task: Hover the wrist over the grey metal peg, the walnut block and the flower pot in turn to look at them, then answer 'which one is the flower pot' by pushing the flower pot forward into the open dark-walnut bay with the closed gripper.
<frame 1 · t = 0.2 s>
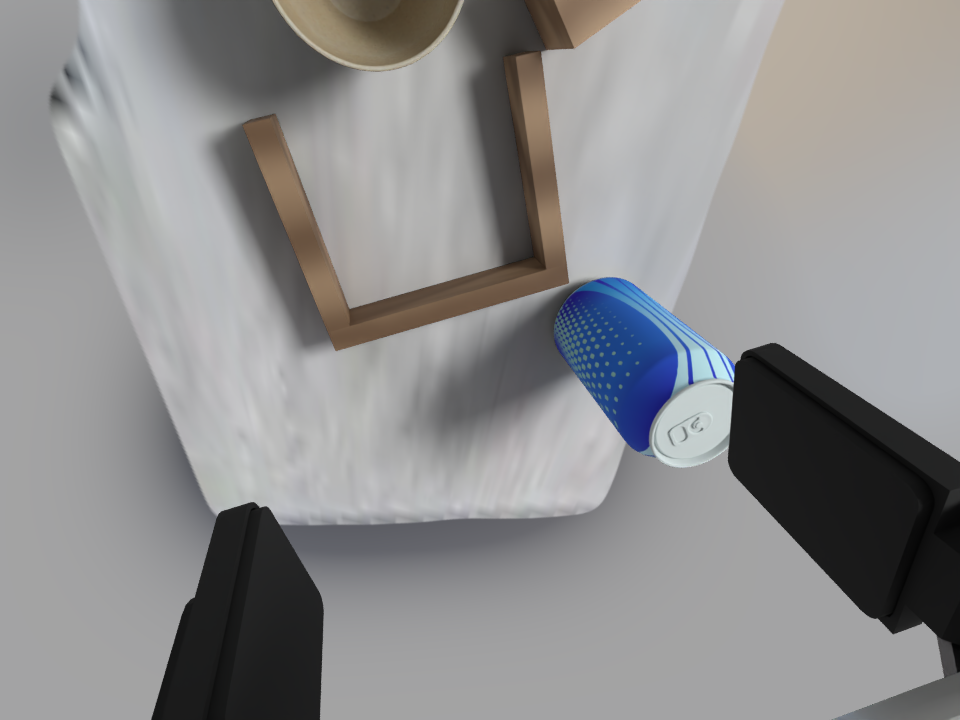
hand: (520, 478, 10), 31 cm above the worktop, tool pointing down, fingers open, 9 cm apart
beer can: (593, 316, 46), on the worktop
bay: (419, 193, 37), on the worktop
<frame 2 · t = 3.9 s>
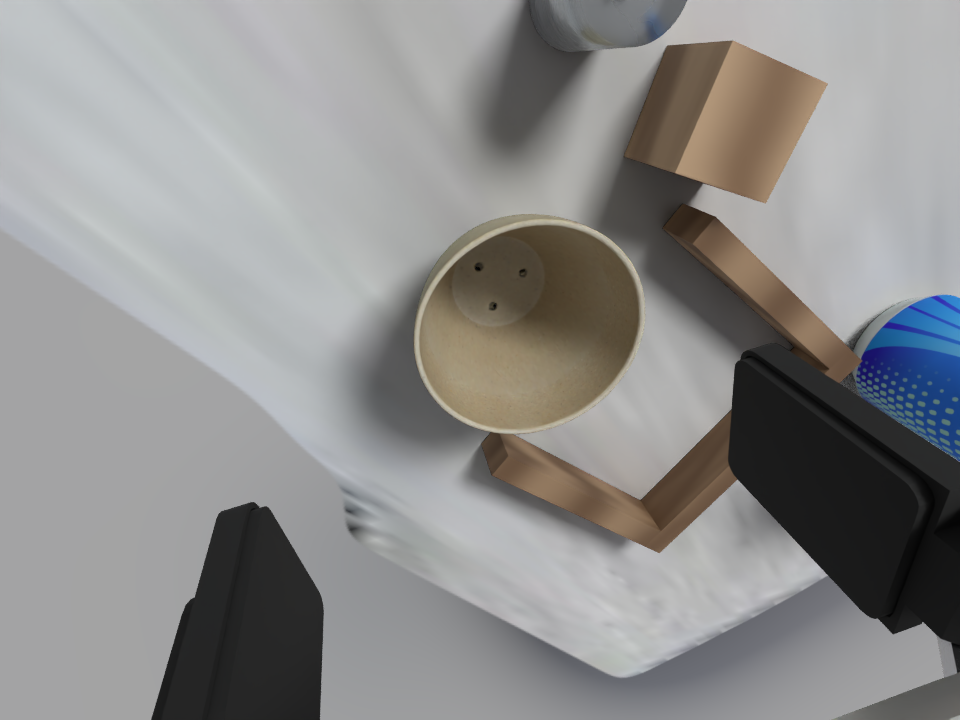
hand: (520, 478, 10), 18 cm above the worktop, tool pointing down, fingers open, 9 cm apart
beer can: (892, 342, 37), on the worktop
bay: (649, 385, 34), on the worktop
flower pot: (494, 278, 28), on the worktop
walnut block: (685, 119, 26), on the worktop
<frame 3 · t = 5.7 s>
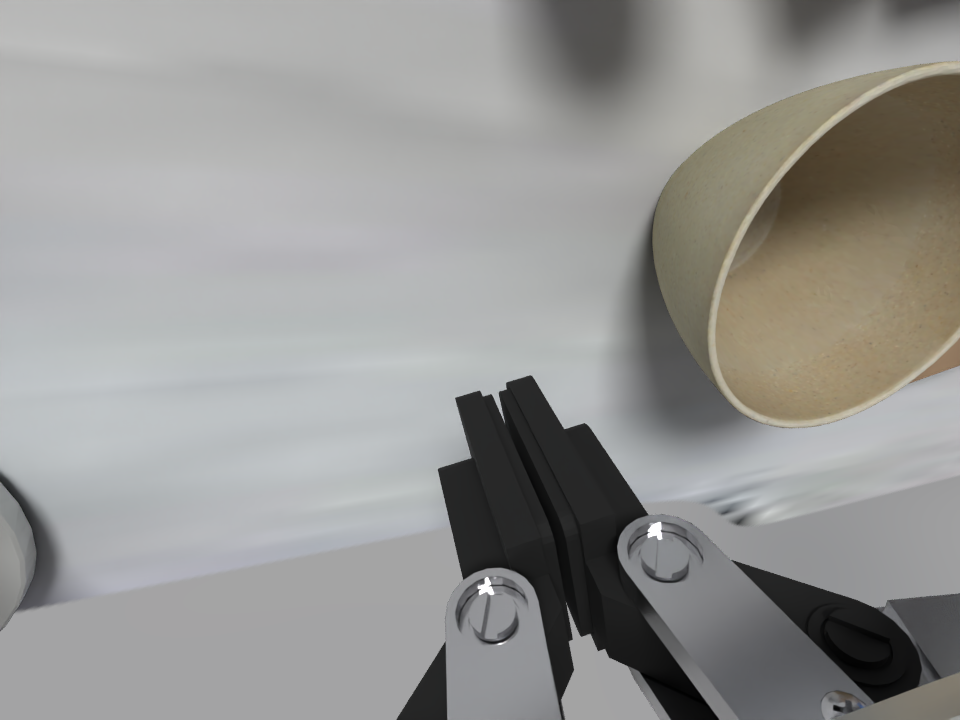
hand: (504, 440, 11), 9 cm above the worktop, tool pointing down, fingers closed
flower pot: (707, 212, 20), on the worktop
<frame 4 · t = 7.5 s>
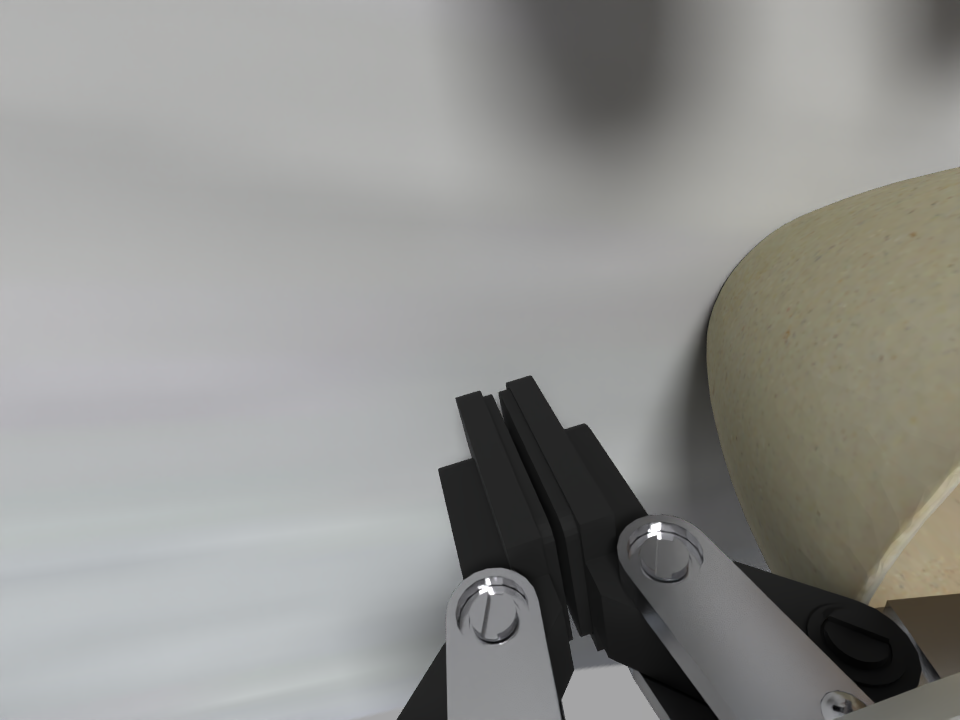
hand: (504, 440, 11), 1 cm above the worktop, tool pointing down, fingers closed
flower pot: (788, 308, 13), on the worktop, touching gripper
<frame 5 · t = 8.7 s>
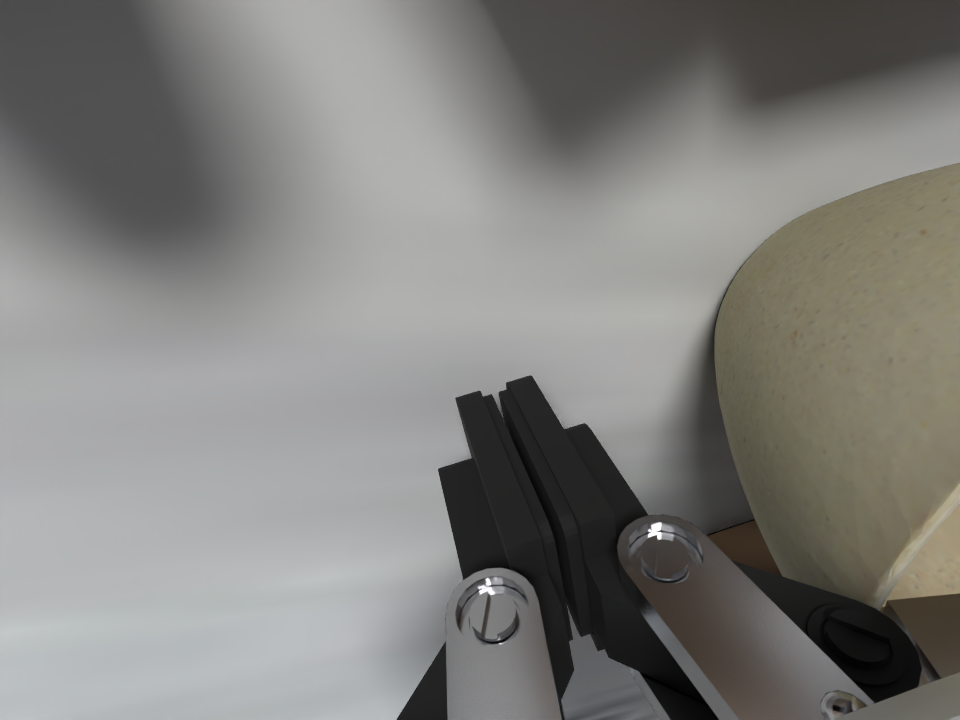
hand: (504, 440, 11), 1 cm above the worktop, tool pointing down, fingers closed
bay: (950, 268, 13), on the worktop
flower pot: (798, 304, 13), on the worktop, touching gripper
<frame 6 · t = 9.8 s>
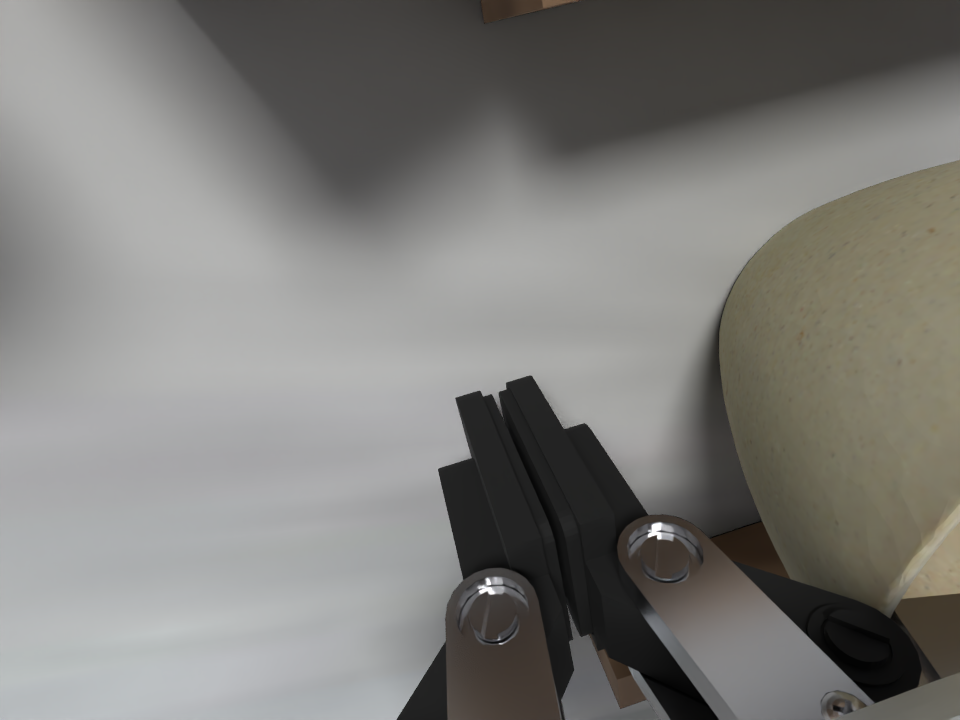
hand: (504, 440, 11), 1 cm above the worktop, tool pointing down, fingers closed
bay: (811, 312, 13), on the worktop
flower pot: (803, 302, 13), on the worktop, touching gripper
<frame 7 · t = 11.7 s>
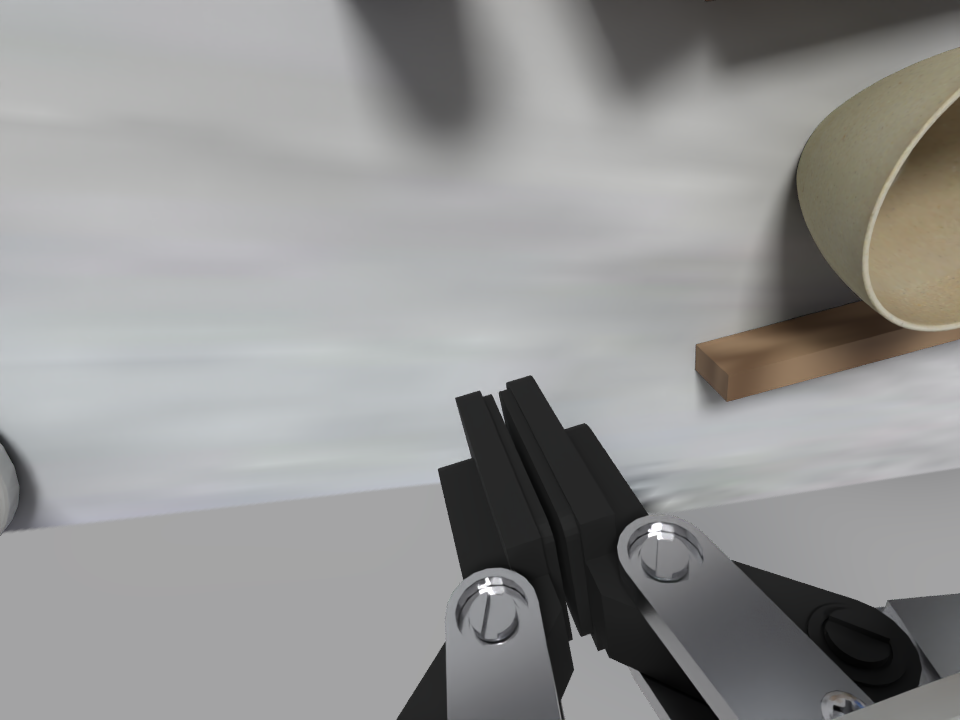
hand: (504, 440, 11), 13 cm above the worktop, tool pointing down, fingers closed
bay: (848, 164, 23), on the worktop
flower pot: (844, 158, 24), on the worktop
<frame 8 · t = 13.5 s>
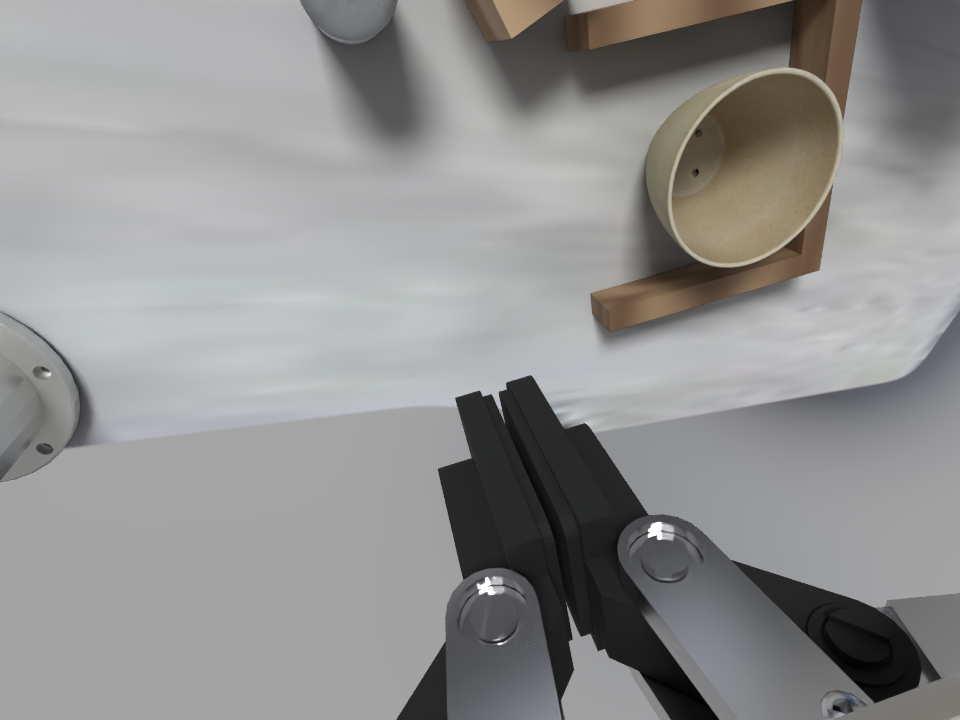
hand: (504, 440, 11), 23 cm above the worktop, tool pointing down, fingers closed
bay: (683, 159, 33), on the worktop
flower pot: (680, 155, 34), on the worktop
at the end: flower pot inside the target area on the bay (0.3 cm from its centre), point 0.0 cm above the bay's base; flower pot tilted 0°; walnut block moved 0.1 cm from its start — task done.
